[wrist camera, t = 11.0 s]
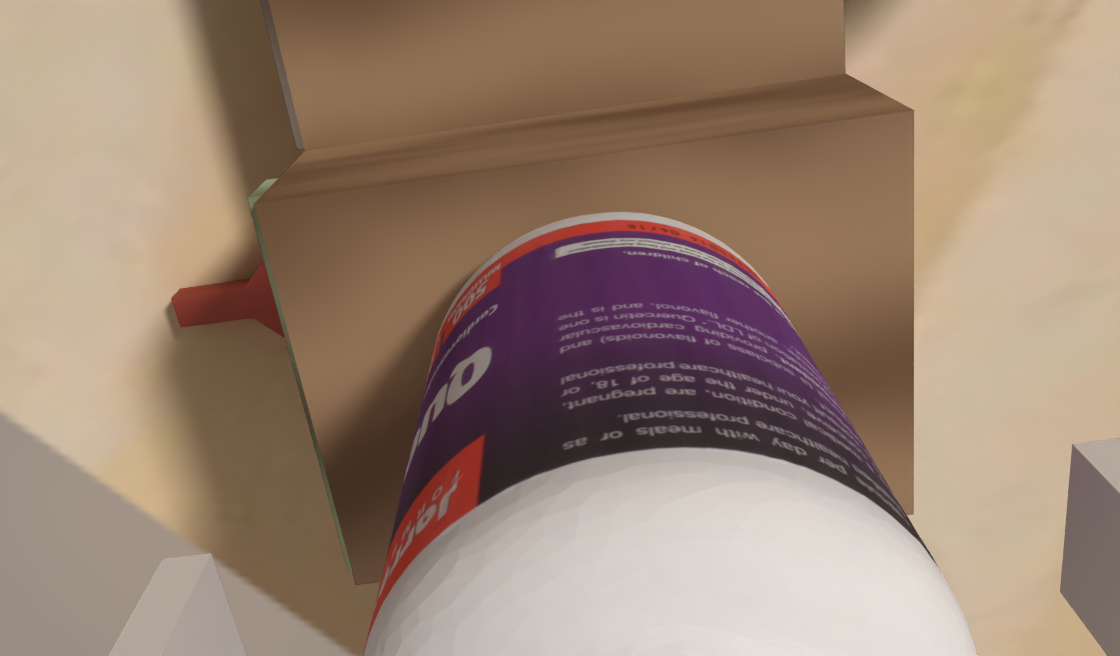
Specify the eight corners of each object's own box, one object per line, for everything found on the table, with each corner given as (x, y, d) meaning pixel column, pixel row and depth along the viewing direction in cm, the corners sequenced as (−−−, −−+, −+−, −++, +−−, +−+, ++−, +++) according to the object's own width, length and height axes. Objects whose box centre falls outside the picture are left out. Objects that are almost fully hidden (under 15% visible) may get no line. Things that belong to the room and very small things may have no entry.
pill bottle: (438, 185, 21) (263, 662, 8) (812, 209, 21) (1258, 703, 8) (431, 510, 24) (299, 1244, 11) (757, 525, 24) (1015, 1255, 11)
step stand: (19, -230, 26) (-228, -296, 17) (790, -352, 25) (914, -482, 17) (226, 439, 33) (123, 614, 25) (818, 360, 33) (913, 514, 24)
